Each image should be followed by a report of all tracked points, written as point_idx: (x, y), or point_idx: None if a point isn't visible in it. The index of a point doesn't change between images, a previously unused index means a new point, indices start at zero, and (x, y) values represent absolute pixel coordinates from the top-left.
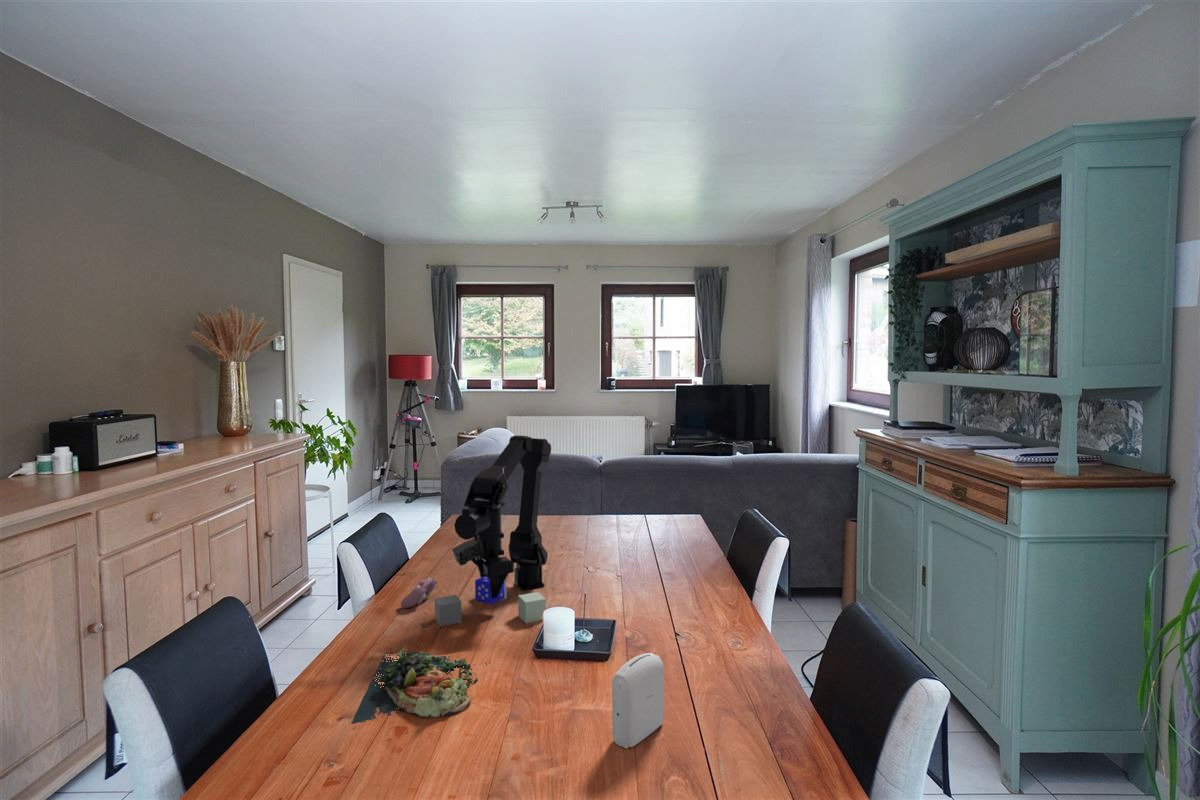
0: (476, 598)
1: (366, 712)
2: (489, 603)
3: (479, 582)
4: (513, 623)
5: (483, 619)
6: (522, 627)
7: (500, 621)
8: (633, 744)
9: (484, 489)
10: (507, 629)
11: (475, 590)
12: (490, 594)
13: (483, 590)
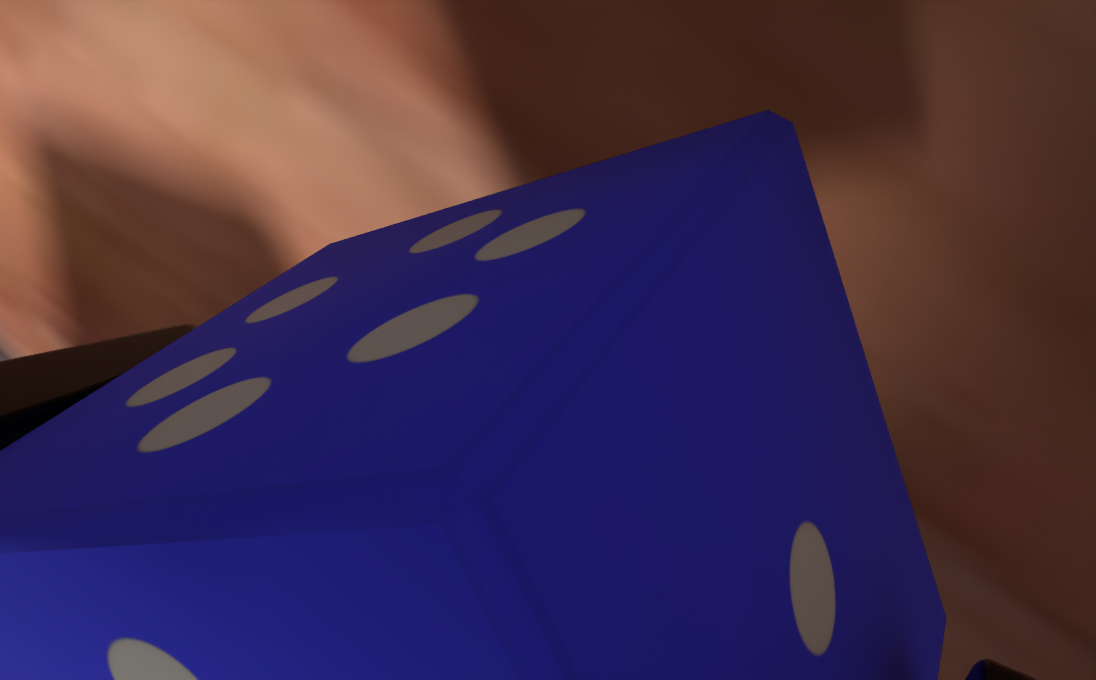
0: (705, 138)
1: None
2: (353, 238)
3: (250, 471)
4: (215, 273)
5: (534, 18)
6: (89, 272)
7: (334, 190)
8: None
9: None
10: (81, 104)
11: (662, 230)
12: (170, 348)
13: (291, 335)
